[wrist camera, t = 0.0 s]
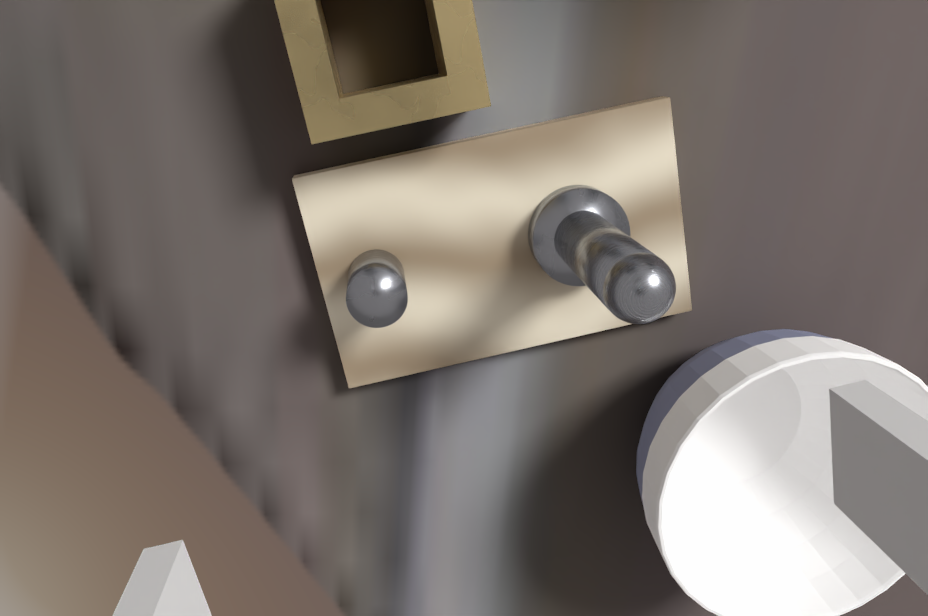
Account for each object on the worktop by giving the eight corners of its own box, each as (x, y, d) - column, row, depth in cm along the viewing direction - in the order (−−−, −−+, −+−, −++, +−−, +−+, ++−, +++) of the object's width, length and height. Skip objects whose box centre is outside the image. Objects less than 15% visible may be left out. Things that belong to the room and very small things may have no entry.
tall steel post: (520, 196, 40) (577, 250, 29) (615, 175, 41) (708, 221, 29) (536, 287, 42) (596, 372, 31) (627, 267, 42) (719, 344, 31)
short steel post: (342, 256, 40) (339, 276, 37) (397, 243, 41) (400, 263, 37) (355, 308, 41) (354, 333, 38) (409, 296, 42) (413, 320, 38)
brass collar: (274, -41, 37) (259, -55, 32) (444, -76, 37) (455, -95, 32) (319, 133, 40) (311, 144, 35) (477, 100, 40) (490, 106, 35)
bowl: (762, 556, 51) (845, 663, 42) (557, 477, 48) (600, 576, 39) (897, 353, 48) (1020, 423, 38) (686, 250, 44) (766, 301, 35)
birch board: (294, 175, 40) (291, 179, 39) (661, 96, 41) (669, 97, 40) (349, 379, 44) (348, 388, 43) (683, 303, 45) (691, 310, 44)
